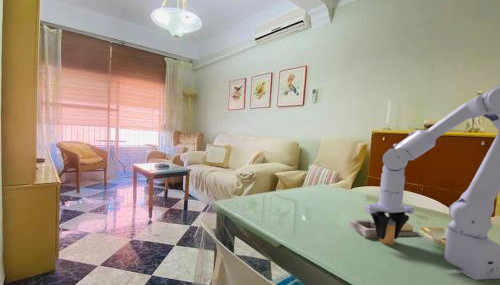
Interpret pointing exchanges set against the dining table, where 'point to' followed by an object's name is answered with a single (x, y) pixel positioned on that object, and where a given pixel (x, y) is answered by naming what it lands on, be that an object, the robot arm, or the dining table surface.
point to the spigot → (389, 233)
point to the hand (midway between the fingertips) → (386, 237)
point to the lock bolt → (407, 228)
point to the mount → (373, 229)
